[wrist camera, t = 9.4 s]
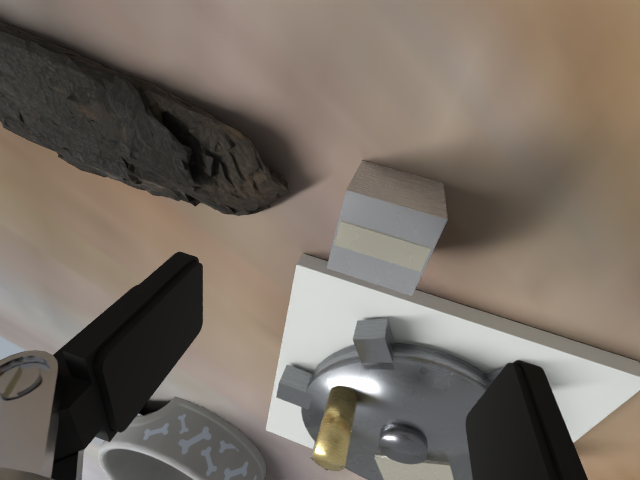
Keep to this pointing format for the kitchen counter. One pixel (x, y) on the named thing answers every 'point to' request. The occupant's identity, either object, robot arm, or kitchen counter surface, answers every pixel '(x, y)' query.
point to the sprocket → (388, 407)
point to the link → (388, 227)
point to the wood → (128, 128)
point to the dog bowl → (181, 448)
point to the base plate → (440, 345)
